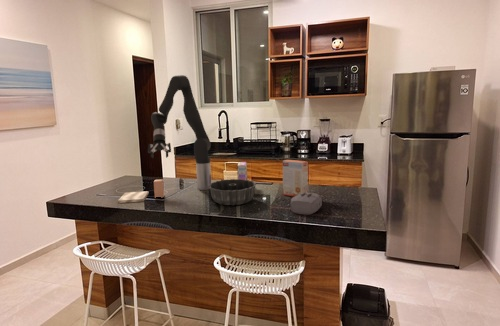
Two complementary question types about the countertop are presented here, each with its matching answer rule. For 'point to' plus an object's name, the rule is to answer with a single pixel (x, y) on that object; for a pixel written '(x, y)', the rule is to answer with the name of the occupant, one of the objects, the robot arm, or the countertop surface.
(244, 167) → the candy box
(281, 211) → the countertop surface
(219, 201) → the bundt pan
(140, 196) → the birch board
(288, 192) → the cracker box
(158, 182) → the terracotta block
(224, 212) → the countertop surface
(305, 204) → the soft grey pack
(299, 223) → the countertop surface
